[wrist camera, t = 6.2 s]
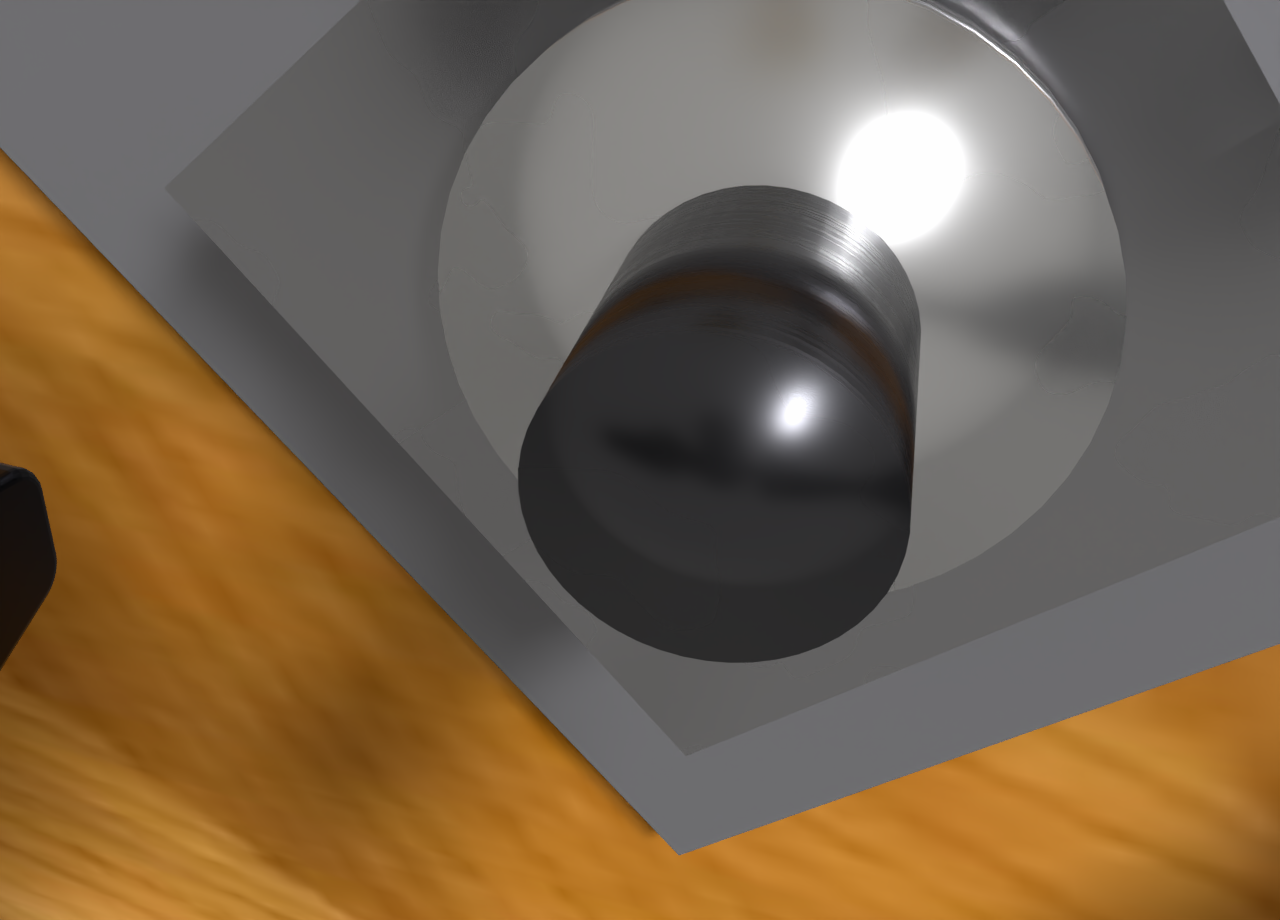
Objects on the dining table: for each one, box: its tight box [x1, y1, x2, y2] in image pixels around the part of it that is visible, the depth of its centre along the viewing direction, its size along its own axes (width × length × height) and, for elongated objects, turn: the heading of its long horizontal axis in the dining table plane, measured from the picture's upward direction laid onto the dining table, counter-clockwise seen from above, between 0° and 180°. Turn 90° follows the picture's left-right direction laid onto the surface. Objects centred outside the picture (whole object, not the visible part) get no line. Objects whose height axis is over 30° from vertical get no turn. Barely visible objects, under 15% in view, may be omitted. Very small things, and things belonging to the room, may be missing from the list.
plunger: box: [438, 0, 1126, 663], centre depth 13 cm, size 7×7×8 cm
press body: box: [165, 0, 1280, 756], centre depth 15 cm, size 10×10×5 cm
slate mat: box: [0, 0, 1280, 855], centre depth 17 cm, size 22×22×1 cm
